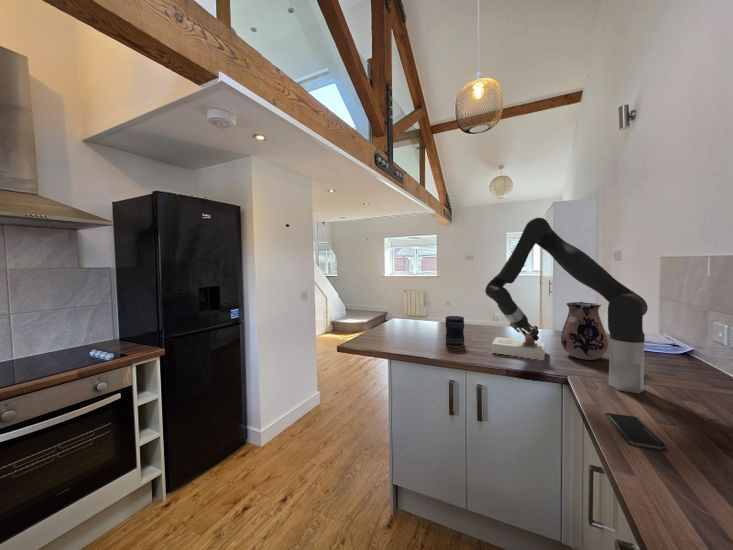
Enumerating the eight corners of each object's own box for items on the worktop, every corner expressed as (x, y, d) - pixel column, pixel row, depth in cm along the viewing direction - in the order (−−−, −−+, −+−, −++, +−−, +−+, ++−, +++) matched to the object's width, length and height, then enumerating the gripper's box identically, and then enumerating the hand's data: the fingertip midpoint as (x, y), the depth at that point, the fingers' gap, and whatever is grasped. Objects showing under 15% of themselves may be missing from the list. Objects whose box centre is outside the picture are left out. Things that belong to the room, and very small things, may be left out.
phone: (628, 441, 73) (604, 412, 87) (627, 446, 73) (603, 416, 87) (669, 448, 70) (637, 416, 84) (669, 453, 70) (637, 420, 84)
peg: (534, 346, 139) (534, 329, 139) (524, 345, 141) (524, 328, 141) (534, 344, 143) (535, 328, 142) (525, 343, 145) (525, 327, 144)
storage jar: (466, 343, 163) (466, 316, 162) (461, 348, 154) (461, 320, 154) (448, 341, 168) (448, 315, 167) (443, 345, 160) (442, 318, 159)
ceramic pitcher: (567, 361, 132) (568, 306, 130) (554, 348, 152) (554, 299, 150) (615, 365, 126) (616, 307, 125) (595, 350, 146) (595, 300, 145)
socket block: (544, 360, 133) (544, 349, 133) (491, 353, 145) (491, 343, 144) (544, 352, 145) (544, 342, 145) (496, 346, 157) (496, 336, 156)
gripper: (532, 311, 132) (550, 335, 137) (506, 307, 145) (523, 329, 150) (524, 324, 130) (542, 348, 135) (498, 319, 143) (516, 340, 148)
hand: (532, 338), depth 143 cm, fingers closed on peg, 4 cm apart
